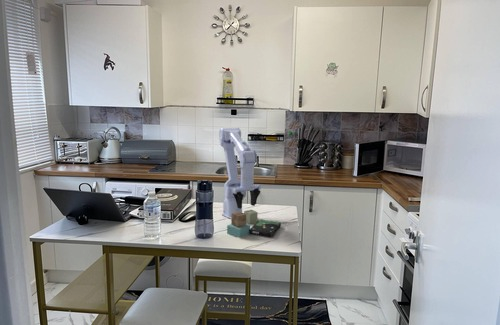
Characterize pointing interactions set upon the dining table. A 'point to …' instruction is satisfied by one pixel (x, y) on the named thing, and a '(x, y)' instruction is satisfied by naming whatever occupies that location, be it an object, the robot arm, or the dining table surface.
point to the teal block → (238, 230)
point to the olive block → (251, 216)
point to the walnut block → (238, 219)
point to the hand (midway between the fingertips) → (246, 206)
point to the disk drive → (265, 228)
